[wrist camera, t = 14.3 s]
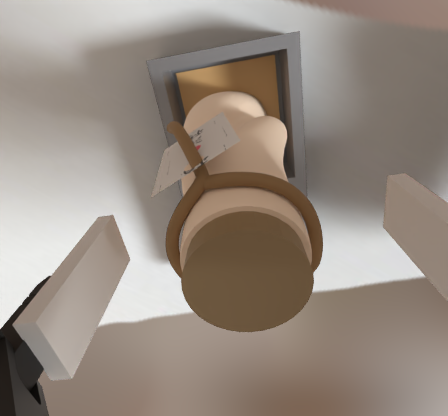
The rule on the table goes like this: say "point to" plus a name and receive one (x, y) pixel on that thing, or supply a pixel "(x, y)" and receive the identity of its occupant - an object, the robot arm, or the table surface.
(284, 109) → the bottle caddy
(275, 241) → the water bottle
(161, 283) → the table surface
